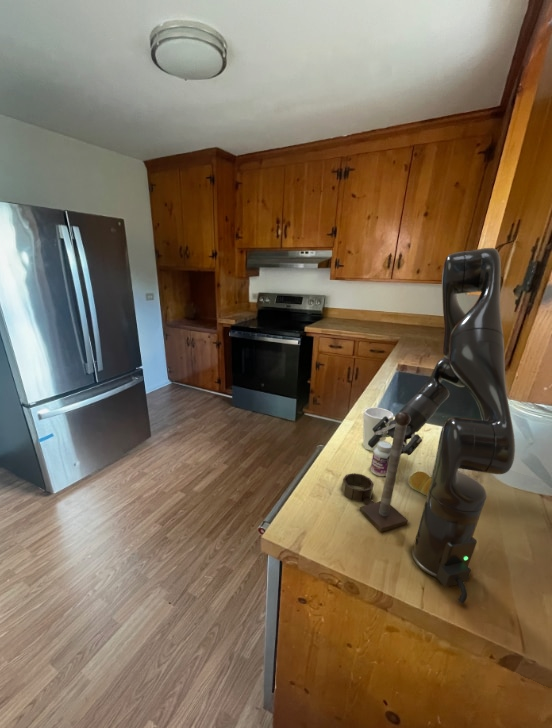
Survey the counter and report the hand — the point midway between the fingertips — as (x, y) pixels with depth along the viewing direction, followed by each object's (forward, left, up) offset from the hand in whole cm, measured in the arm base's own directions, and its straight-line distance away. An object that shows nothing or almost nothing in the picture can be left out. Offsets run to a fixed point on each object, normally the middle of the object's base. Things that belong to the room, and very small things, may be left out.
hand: (379, 453), depth 98 cm
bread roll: (-10, -9, -7) cm, 15 cm away
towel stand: (-12, +10, -7) cm, 17 cm away
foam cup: (+14, -8, -7) cm, 18 cm away
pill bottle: (0, -2, -7) cm, 7 cm away
